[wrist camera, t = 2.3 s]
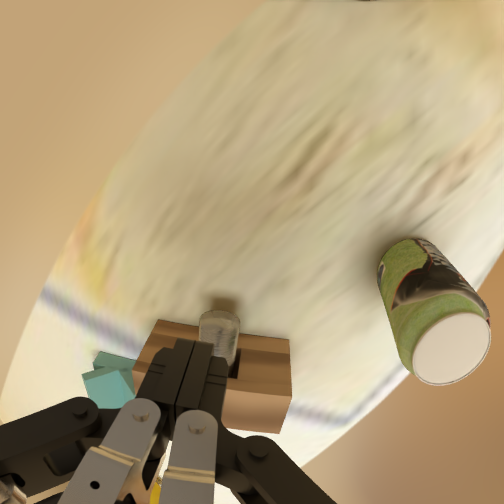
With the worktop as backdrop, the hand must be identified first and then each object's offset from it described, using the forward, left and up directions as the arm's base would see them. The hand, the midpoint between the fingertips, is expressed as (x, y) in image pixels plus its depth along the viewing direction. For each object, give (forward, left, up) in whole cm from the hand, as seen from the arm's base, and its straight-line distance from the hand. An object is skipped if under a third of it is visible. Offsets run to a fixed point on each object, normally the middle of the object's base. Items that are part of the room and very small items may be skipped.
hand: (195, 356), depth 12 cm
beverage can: (0, +14, -13) cm, 19 cm away
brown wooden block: (+14, 0, -13) cm, 19 cm away
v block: (+19, -10, -13) cm, 25 cm away
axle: (+12, 0, -10) cm, 15 cm away
